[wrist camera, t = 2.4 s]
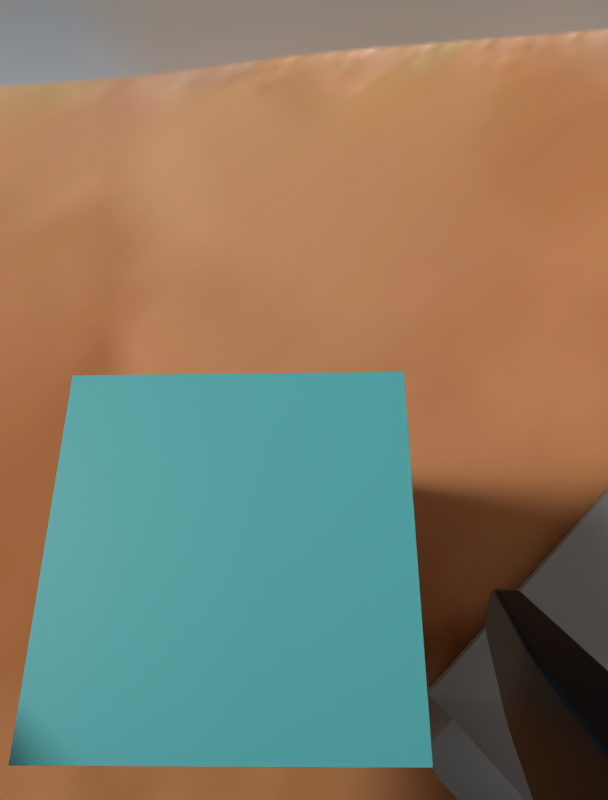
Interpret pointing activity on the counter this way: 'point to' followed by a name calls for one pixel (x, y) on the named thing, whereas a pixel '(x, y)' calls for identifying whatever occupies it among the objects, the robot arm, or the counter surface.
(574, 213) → the counter surface
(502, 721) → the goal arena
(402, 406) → the white teal-lidded canister
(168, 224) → the counter surface
